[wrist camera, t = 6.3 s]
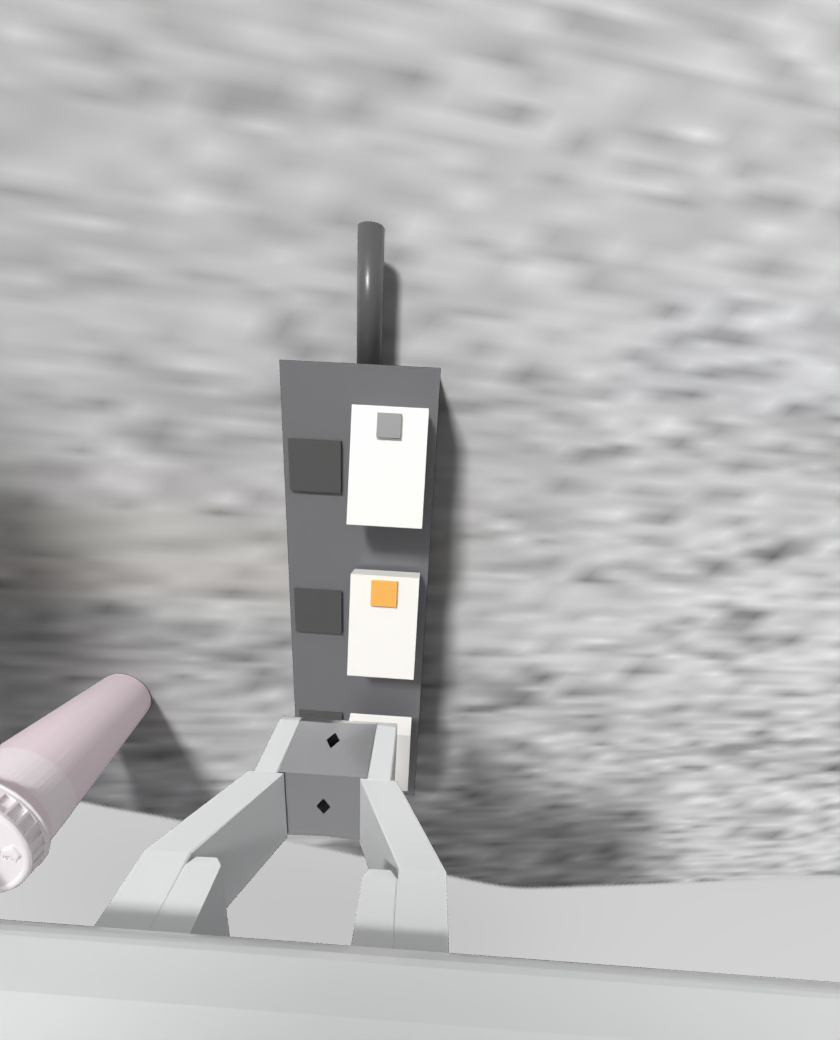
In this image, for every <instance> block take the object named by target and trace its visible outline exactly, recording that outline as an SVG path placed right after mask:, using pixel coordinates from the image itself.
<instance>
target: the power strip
mask: <svg viewBox="0 0 840 1040" xmlns="http://www.w3.org/2000/svg"><path fill="white" fill-rule="evenodd" d="M384 232H385V229H384V227H383V226H382V225H381V224H378V223H375V222H361V223H359V224H358V268H357V364H354V363H335V362H315V361H296V360H279V363H280V386H281V408H282V430H283V452H284V475H285V497H286V519H287V542H288V564H289V586H290V608H291V631H292V653H293V675H294V698H295V717H302V718H303V717H308V718H319V719H329V720H345V721H349V718H350V714H351V713H357V714H371V715H386V716H400V717H412V720H411V739H410V759H409V777H408V791H403V793H404V795H414V791H415V775H416V759H417V743H418V727H419V711H420V695H421V679H422V663H423V646H424V630H425V614H426V598H427V582H428V566H429V550H430V534H431V518H432V502H433V486H434V470H435V453H436V437H437V421H438V405H439V389H440V373H441V368H432V367H412V366H393V365H381V364H382V320H383V276H384ZM352 404H355V405H373V406H392V407H410V408H429V420H428V437H427V454H426V471H425V489H424V506H423V523H422V529H417V528H400V527H383V526H367V525H350V524H346V523H347V501H348V479H349V457H350V435H351V412H352ZM354 569H368V570H384V571H400V572H416V573H420V580H419V598H418V615H417V632H416V649H415V667H414V680H409V679H394V678H380V677H365V676H350V675H347V663H348V635H349V607H350V578H351V573H352V572H353V570H354Z"/></svg>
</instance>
